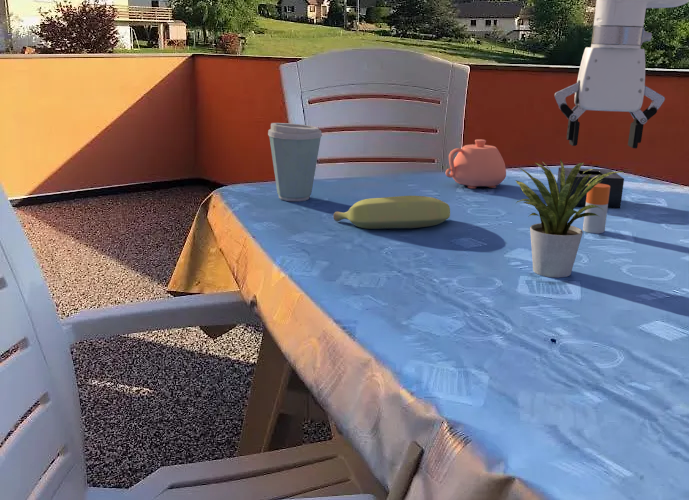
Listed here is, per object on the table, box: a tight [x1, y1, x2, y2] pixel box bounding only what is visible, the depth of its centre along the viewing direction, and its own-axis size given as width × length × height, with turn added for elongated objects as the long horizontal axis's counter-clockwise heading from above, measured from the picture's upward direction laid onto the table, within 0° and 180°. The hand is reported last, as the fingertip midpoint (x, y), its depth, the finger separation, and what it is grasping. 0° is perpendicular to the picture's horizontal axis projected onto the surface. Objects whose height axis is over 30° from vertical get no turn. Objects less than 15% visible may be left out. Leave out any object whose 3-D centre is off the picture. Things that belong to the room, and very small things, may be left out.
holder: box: [556, 166, 625, 210], centre depth 144 cm, size 11×11×6 cm
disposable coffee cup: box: [267, 122, 323, 203], centre depth 141 cm, size 11×11×15 cm
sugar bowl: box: [445, 138, 507, 190], centre depth 158 cm, size 12×14×10 cm
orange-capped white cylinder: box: [582, 183, 610, 234], centre depth 121 cm, size 4×4×8 cm
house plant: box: [514, 158, 622, 279], centre depth 98 cm, size 14×14×16 cm
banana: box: [332, 195, 451, 230], centre depth 124 cm, size 14×6×20 cm
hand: (602, 146), depth 118 cm, fingers open, 9 cm apart
